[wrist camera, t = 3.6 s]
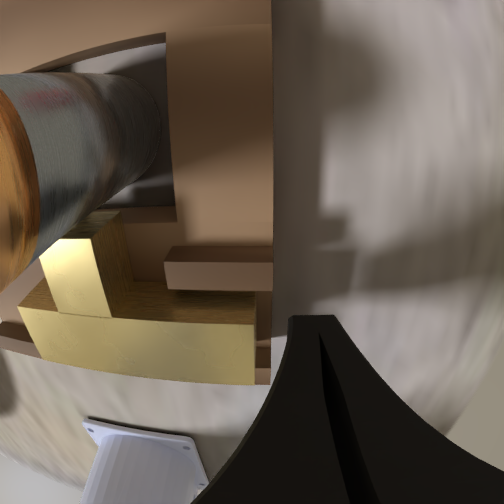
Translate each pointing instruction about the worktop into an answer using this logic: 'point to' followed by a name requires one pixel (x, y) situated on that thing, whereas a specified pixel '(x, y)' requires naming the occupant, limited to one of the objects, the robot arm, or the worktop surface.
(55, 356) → the bar
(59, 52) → the socket plate
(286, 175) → the worktop surface
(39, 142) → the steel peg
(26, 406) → the worktop surface
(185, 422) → the worktop surface
